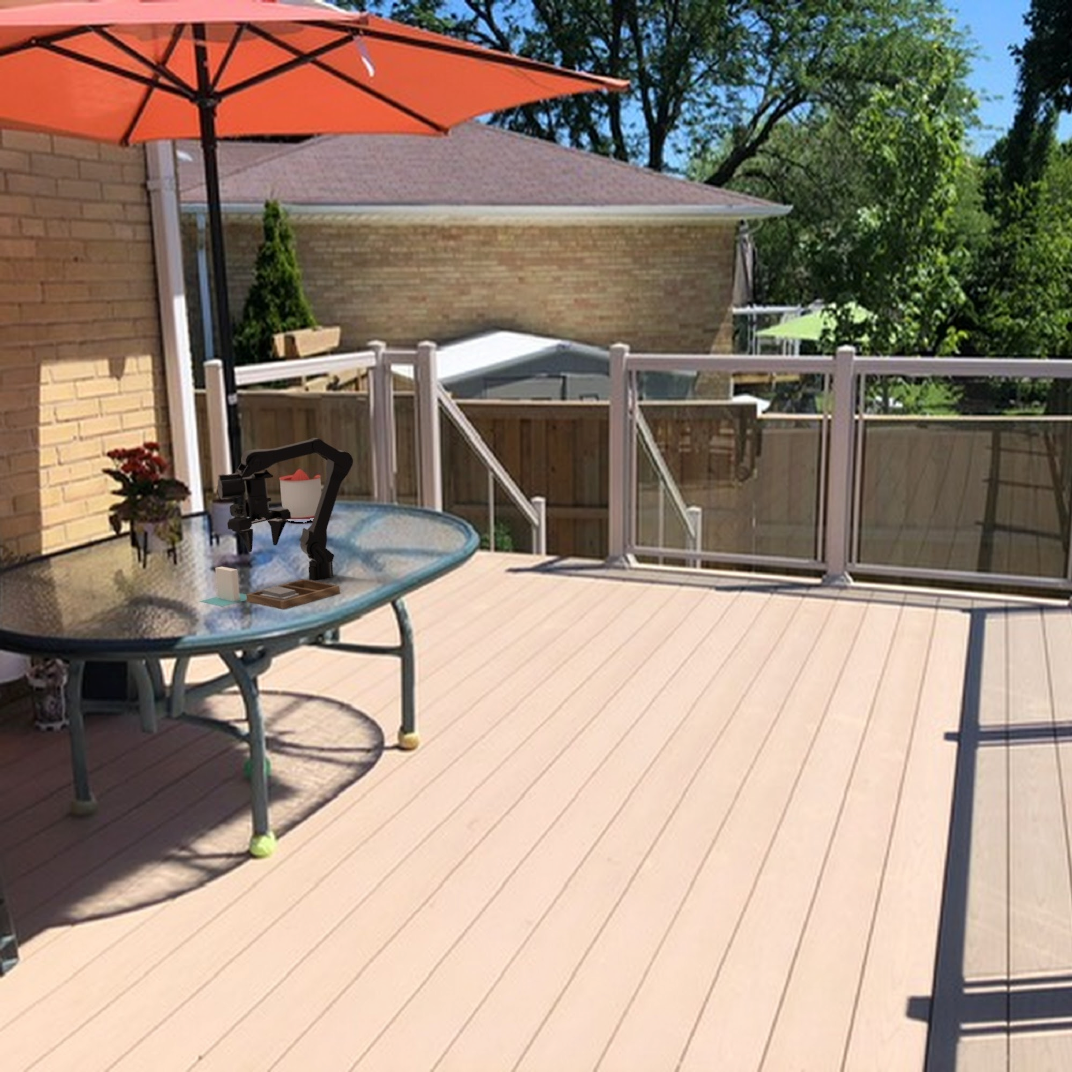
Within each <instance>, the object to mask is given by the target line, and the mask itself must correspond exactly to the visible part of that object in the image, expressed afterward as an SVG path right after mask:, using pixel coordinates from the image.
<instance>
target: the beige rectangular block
mask: <svg viewBox="0 0 1072 1072" xmlns="http://www.w3.org/2000/svg"><path fill="white" fill-rule="evenodd" d="M214 571H215V580H216V591H217V592H216V593H217V597H218V598H220V599H225V600H229V601H238V600H240V595H239V593H240V587H239V586H240V585H239V574H238V569H236V568H231V567H226V566H219V567H215V570H214Z"/></svg>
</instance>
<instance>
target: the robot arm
mask: <svg viewBox="0 0 1072 1072" xmlns="http://www.w3.org/2000/svg"><path fill="white" fill-rule="evenodd" d="M311 454H316V455H318V456H319V457H321V458H323V459H324V460H326V466H325V471H326V473H325V474H326V475H325V476H326V478H325V481H324V485H323V487H322V490H321V497H320V500H319V503H318V507H317V510H316V513H315V516H314V519H313V521H312V523H311V524H310V526H309V527H308V528H305V527H303V528H302V530H301V531H302V532H301V537H300V538H299V539H298V541H299V542H300V545H299V547H300V549H301V551H302V552H303V554H306V555H307V557H308V559H309V561H308V579H309V580H310V581H315V582H317V581H324V580H329V579H332V578H333V577H334V569H333V568H334V567H333V561H334V557H335V554H333V553H332V551H330V550H329V549H328V548H327V542H328V531H327V530H328V526H329V523H330V519H331V518H332V517H331V516H332V513H333V511H334V507H335V504H336V502H337V501H336V500H337V498H338V494H339V491H340V488H341V485H342V482H343V481H344V480H345V479H346V478H347V476H348V475H349V472H351V468H352V467H353V465H354V458H353V456H352V455H351V454H350V452H347V451H346V450H345V451H344V450H342V449H337V448H334V447H333V446H331V445H330V444H328V443H326V442H324V440H323V439H320V438H317V437H312V438H310V439H307V440H302V441H298V442H295V443H290V444H286V445H282V446H279V447H278V446H277V447H275V448H260V449H259V448H258V449H248V450H246V451H244V452H243V454H242V456H241V458H240V459H241V460H240V461H241V462H240V464H239V466H238V467H237V469H236V471H235V472H234V473H229V474H223V473H221V474H218V476H217V477H218V480H217V486H216V487H217V492H218V497H219V499H220V500H224V499H226V500H228V499H235V498H242V496H243V495H244V494H245V492H246V498H244V500H243V504H241V505H239V503H235V504H234V503H233V504H231V505H229V512H230V513H229V514H230V516H231V517H233V518H229V519H228V521H227V522H226V523H227V530H232V531H231V532H235V533H237V535H239V536H240V538H241V540H242V542H243V544H244V545H245V548H246V550H247V552H248V553H252V552H253V543H254V542H253V541H254V539H253V536H254V529H253V528H252V526H253V525H255V524H258V523H263V522H267V523H268V524H269V527H270V532H271V540H272V545H273V546H277V545H278V542H279V540H280V537H281V535H282V532H283V530H284V528H285V525H286V523H289V522H288V520H287V519H291V513H290V511H289V510H288V509H284V508H283V507H282V508H281V507H274V508H272V509H270V507H269V506H270V505H269V502H271V501H272V497H270V496H269V495H268V485H267V479H271V478H273V477H274V474H272V473H271V472H269V471H268V469H269V468H270V467H272V466H273V465H276V464H277V463H280V462H283V461H288V460H292V459H296V458H299V457H304V456H308V455H311Z"/></svg>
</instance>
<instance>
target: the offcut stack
mask: <svg viewBox="0 0 1072 1072" xmlns="http://www.w3.org/2000/svg"><path fill="white" fill-rule="evenodd" d="M279 586H280V585H276V586H273V587H268V588H264V589H261V590H262V593H263V594H261V595H260V596H264V597H269V598H274V599H279V600H287V599H290V598H294V597H297V596H299V594H296V593H295V590H292V589H287V588H283V587H279Z"/></svg>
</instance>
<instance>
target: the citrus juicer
mask: <svg viewBox="0 0 1072 1072" xmlns="http://www.w3.org/2000/svg"><path fill="white" fill-rule="evenodd" d="M321 477H322V476H321V475H320V474H316V475H315V476H314V477H313V478H309V476H308V475H307V473H306V472H305V471H304V470H302V469H301V468H299V469H297V470H296V471H295V473H294V474H289V475H284V476H280V477H279V485H280V486H279V487H280V499H281V506H282V508H284V509H288V510H289V511H290V513H291V519H310V518H314V516H315V513H316V510H317V507H318V503H319V500H320V497H321V494H322V485H321V483H322V482H321V481H322V480H321Z"/></svg>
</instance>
